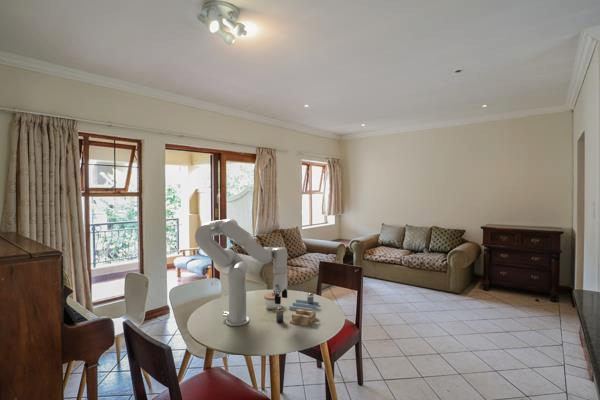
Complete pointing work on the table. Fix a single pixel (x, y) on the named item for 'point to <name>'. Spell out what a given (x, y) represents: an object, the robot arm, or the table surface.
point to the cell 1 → (279, 314)
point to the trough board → (304, 305)
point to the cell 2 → (310, 298)
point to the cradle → (303, 317)
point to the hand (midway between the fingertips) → (281, 300)
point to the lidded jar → (270, 301)
